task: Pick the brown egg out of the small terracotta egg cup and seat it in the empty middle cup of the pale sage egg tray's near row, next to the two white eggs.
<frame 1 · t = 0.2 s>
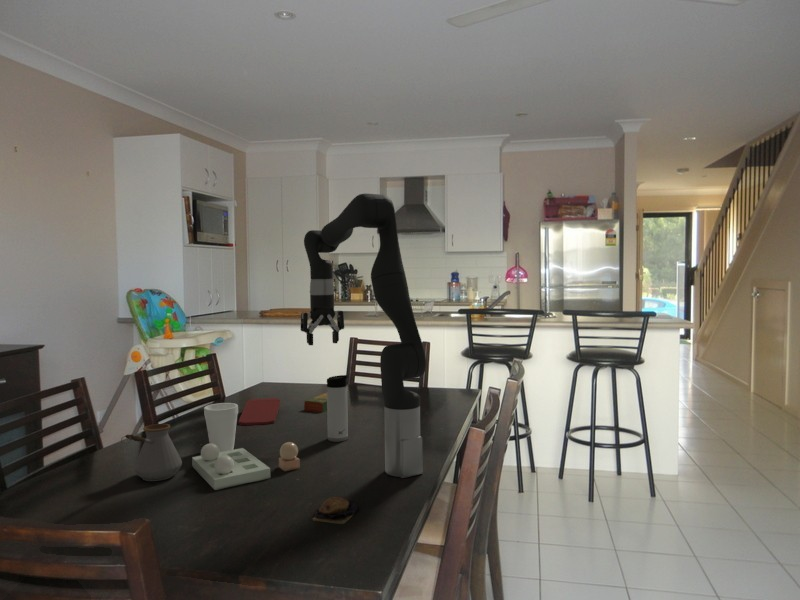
hand: (323, 344, 188), 29 cm above the table, tool pointing down, fingers open, 8 cm apart
egg tray: (230, 472, 154), on the table
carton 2: (261, 417, 213), on the table
foam cup: (222, 451, 172), on the table
carton: (324, 408, 226), on the table
sandwich: (336, 515, 127), on the table
brown egg: (289, 460, 156), point 2 cm above the table, touching egg cup
white egg B: (210, 461, 157), point 2 cm above the table, touching egg tray
white egg A: (224, 474, 146), point 2 cm above the table, touching egg tray
coffee pot: (149, 483, 146), on the table
travel mug: (338, 439, 182), on the table
egg cup: (289, 467, 156), on the table
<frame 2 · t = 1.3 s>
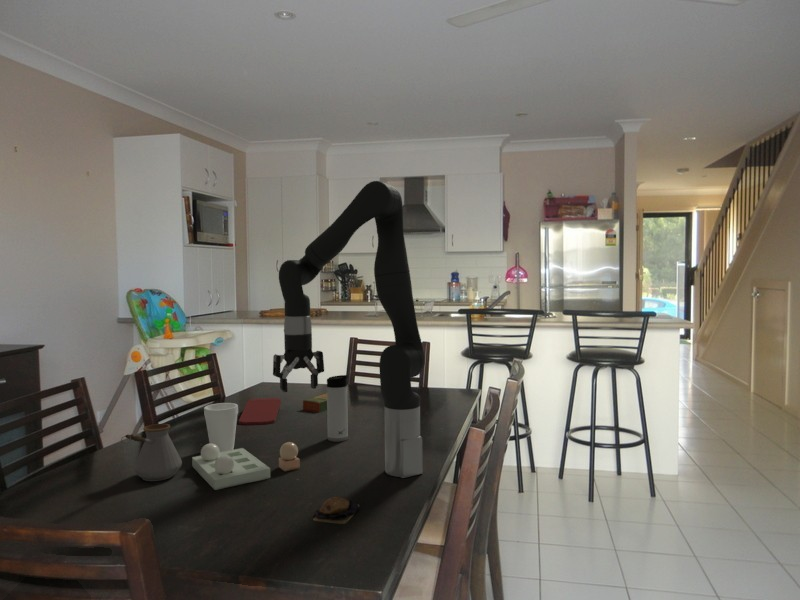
hand: (299, 389, 164), 19 cm above the table, tool pointing down, fingers open, 8 cm apart
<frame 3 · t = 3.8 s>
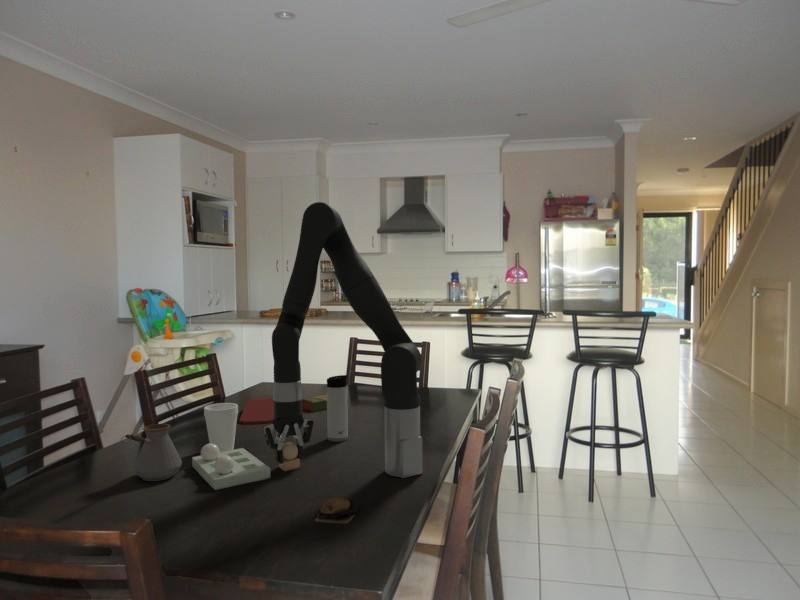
hand: (289, 460, 156), 2 cm above the table, tool pointing down, fingers closed on brown egg, 4 cm apart
brown egg: (289, 460, 156), point 2 cm above the table, touching egg cup, gripper
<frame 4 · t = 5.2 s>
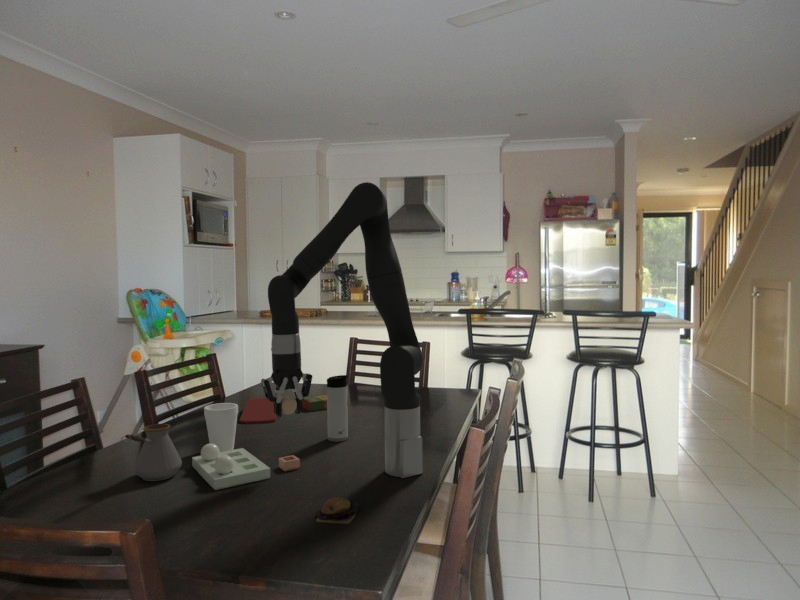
hand: (288, 414, 155), 14 cm above the table, tool pointing down, fingers closed on brown egg, 4 cm apart
brown egg: (288, 414, 155), point 14 cm above the table, touching gripper
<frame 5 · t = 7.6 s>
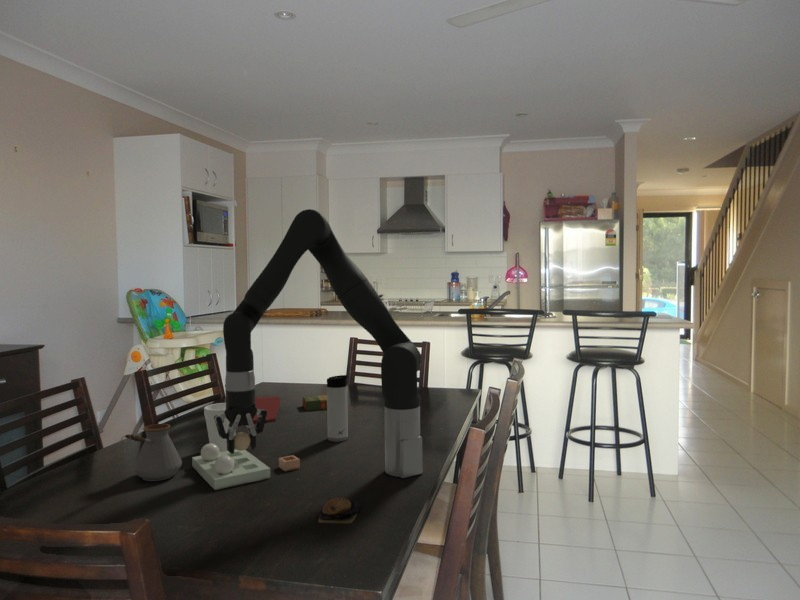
hand: (241, 450, 155), 5 cm above the table, tool pointing down, fingers closed on brown egg, 4 cm apart
brown egg: (241, 450, 155), point 5 cm above the table, touching gripper
when the fingers open (3 cm above the table, at t = 8.4 s): brown egg drops 2 cm, resting on egg tray.
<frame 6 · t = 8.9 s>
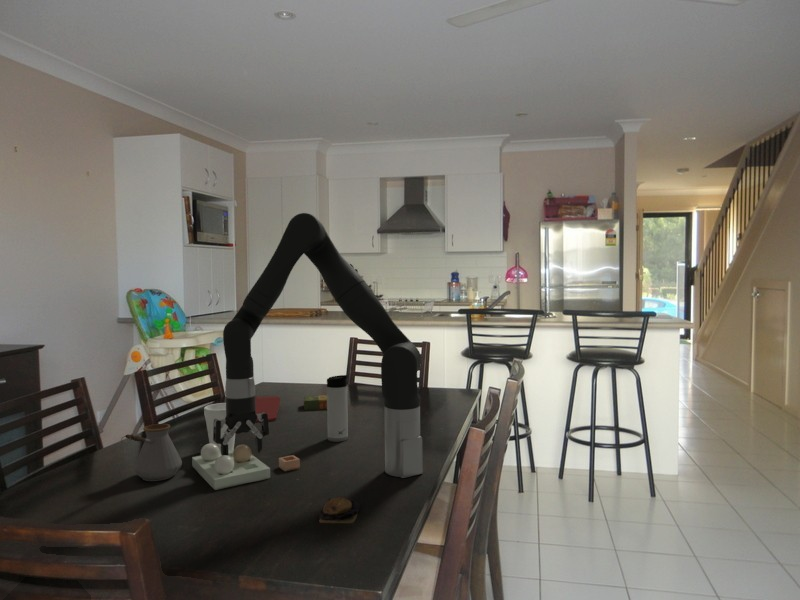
hand: (242, 455, 155), 4 cm above the table, tool pointing down, fingers open, 8 cm apart
brown egg: (242, 462, 155), point 2 cm above the table, touching egg tray
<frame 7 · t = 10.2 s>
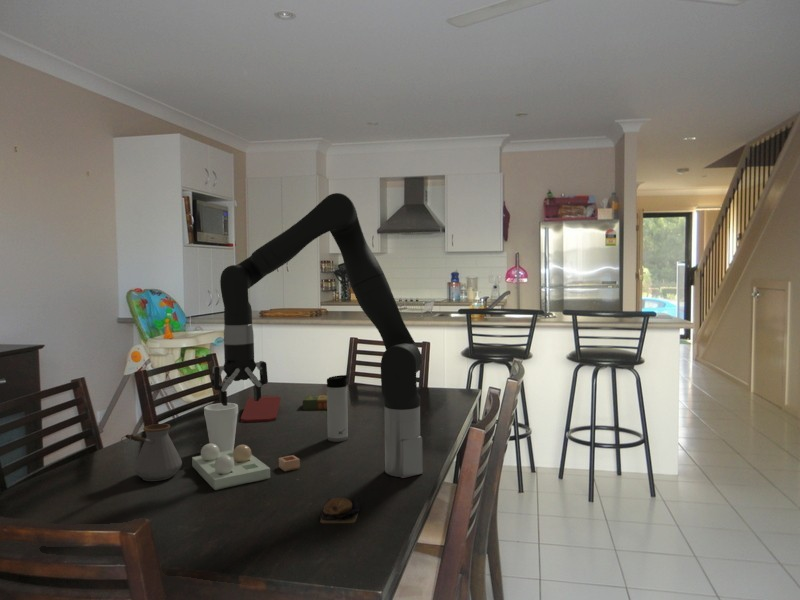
hand: (240, 402, 154), 18 cm above the table, tool pointing down, fingers open, 8 cm apart
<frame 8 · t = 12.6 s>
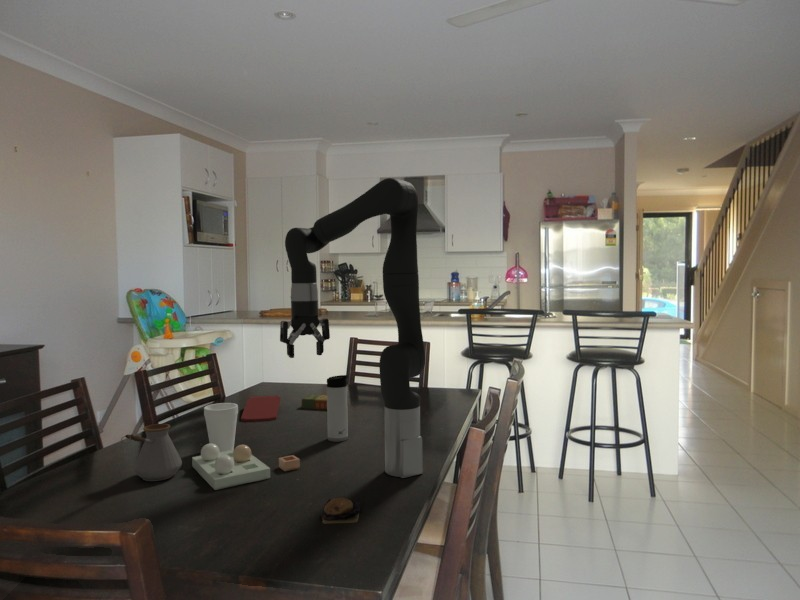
hand: (305, 356, 166), 28 cm above the table, tool pointing down, fingers open, 8 cm apart
at the end: brown egg 0.1 cm from the target spot on the egg tray, point 1.8 cm above the egg tray's base; the gripper is holding nothing; white egg B 0.0 cm from the target spot on the egg tray, point 1.8 cm above the egg tray's base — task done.
